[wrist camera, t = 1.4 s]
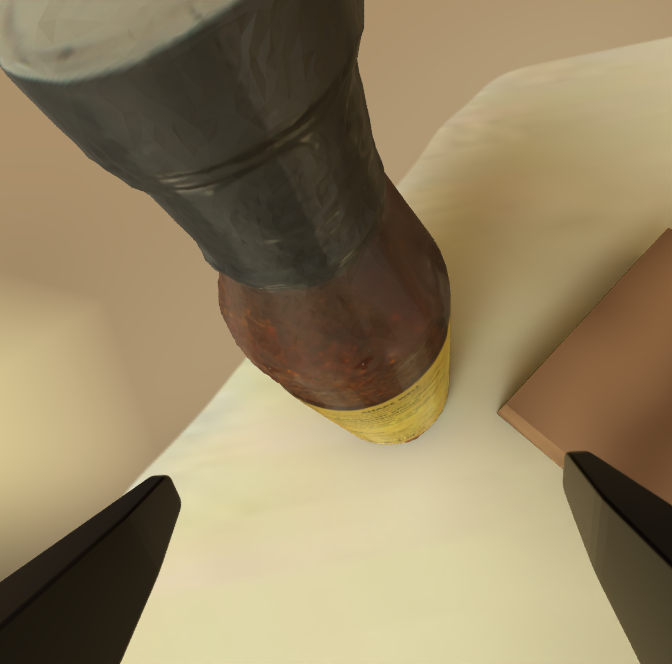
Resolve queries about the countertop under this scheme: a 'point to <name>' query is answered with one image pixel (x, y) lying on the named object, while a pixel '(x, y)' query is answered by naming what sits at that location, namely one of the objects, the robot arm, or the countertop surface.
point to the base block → (611, 380)
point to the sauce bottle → (259, 183)
